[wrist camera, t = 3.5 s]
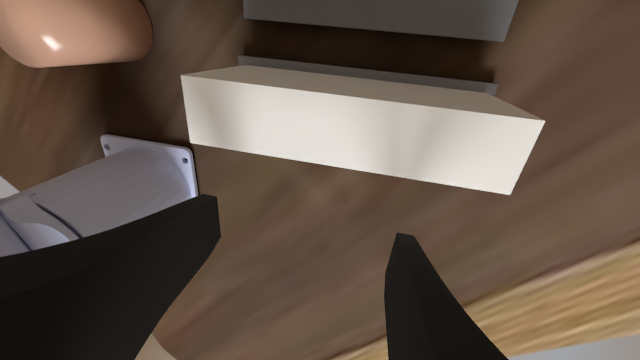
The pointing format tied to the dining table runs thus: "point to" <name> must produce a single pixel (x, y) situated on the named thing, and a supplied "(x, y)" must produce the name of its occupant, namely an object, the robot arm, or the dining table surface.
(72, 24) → the terracotta part
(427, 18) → the pad
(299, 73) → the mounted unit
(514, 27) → the dining table surface
